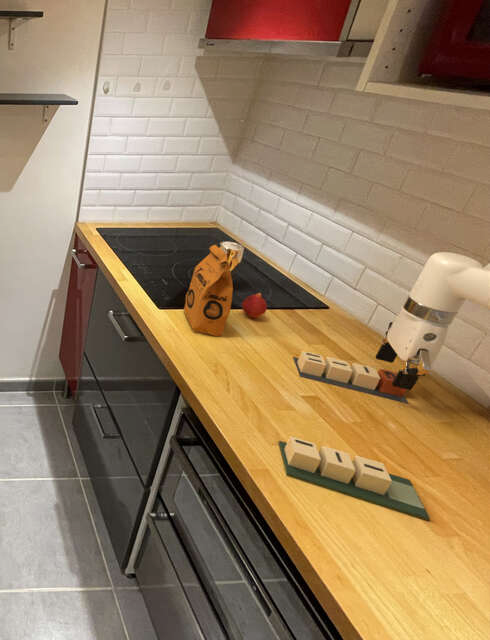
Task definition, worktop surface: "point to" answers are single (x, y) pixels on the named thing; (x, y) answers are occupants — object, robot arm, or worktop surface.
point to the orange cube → (389, 383)
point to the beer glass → (232, 255)
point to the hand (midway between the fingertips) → (391, 373)
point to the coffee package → (210, 294)
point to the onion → (254, 305)
